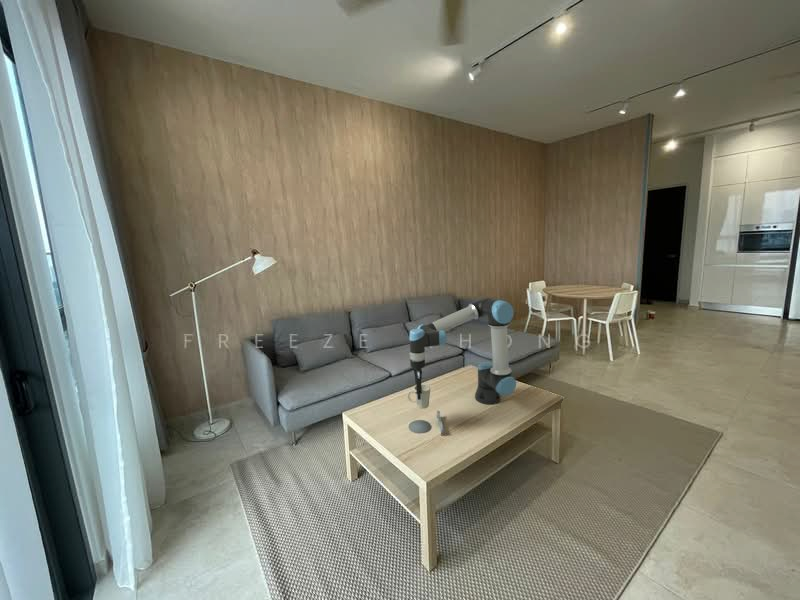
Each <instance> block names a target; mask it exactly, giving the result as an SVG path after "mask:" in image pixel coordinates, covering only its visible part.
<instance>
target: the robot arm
mask: <svg viewBox="0 0 800 600" xmlns="http://www.w3.org/2000/svg"><path fill="white" fill-rule="evenodd" d="M514 314H515V313H514V309H513V306H512V304H510V302H507V301H505V300H502V299H497V298H493V297H484V298H481V299H478V300H476V301H474V302H471V303H469V304H468V306H467V307H465V308H462V309H460V310H457V311H455V312H453V313H451V314H448V315H445V316H444V317H442V318H439V319H437V320H434V321H432V322H430V323H428V324H423V323H422V324H420V325H419V326H417V328H414V329H411V330H410V331H409V337H408V339H409V353H408V355H409V358H410V368H412V369H413V373H414V379H415V380H414V381H415V385H414V388H415V387H416V390H417V392H415V393H414V395H415V394H416V396H415V401H416V400H417V402H416V406H417V405H422V387H421V385H422V379H423V377H422V376H423V375H422V374H423V371H422V369H423V368H425V366H426V360H425V359H426V350H425V348H429V347H438V346H442V345H443V346H445V344H447V342H448V337H447V333H446V332H447V331H449V330H452V329H453V328H455V327H458V326H460V325H462V324H465V323H467V322H469V321H472V320H473V319H474V320H479V319H481V318H486V319H487V326H488V327H490V340H491V354H492V355H491V356H492V357H491V361H484V362H480V363H479V364H477V366H478V367H477V388H476V389H475V390H476V391H475V393H474V398H475V400H476V401H477V402H478V403H480V404H483V405H484V404H485V405H496V404H498V403H499V402H501V396H509V395H511V394H512V393H513V392H514V391H515V389H516V388H517V380H516V379H515V377H513V374H512V372H513V371H512V368H511V367H509V348H508V347H509V345H508V327H509V326H510V322H511V321H512V319H514Z"/></svg>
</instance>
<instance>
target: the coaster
mask: <svg viewBox="0 0 800 600" xmlns="http://www.w3.org/2000/svg"><path fill="white" fill-rule="evenodd" d="M431 428H432V424H431V423H430V422H428V421H426V420H424V419H415V420H413V421H411V422H410V423H409V424H408V429H409V431H411V432H412V433H414V434H426V433H427V432H429V431H430V430H431Z"/></svg>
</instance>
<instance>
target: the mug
mask: <svg viewBox="0 0 800 600" xmlns="http://www.w3.org/2000/svg"><path fill="white" fill-rule="evenodd" d="M421 387H422V405H417V404H416V407H417V408H419V409H427V408H429V405H430V398H431V397H430V395H431V386H429V385H426V384H421ZM415 392H417V390H416V387H415V386H414V389H412V390H409V391H408V392H407V394H406V398H407V399H408V401H410V402H411V403H417V400H416V399H415V400H413V399H411V393H413V394H414V395H415V396H414V397H416V394H415Z"/></svg>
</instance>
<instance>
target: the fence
mask: <svg viewBox="0 0 800 600" xmlns="http://www.w3.org/2000/svg"><path fill="white" fill-rule="evenodd" d="M436 418H437V423H438V425H439V430H440V431H439V432H440V436H442V437H443V436H444V435H445V431H444V428H445V427H444V426H443V423H442V418H441V412H440V410H437V411H436Z"/></svg>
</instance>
